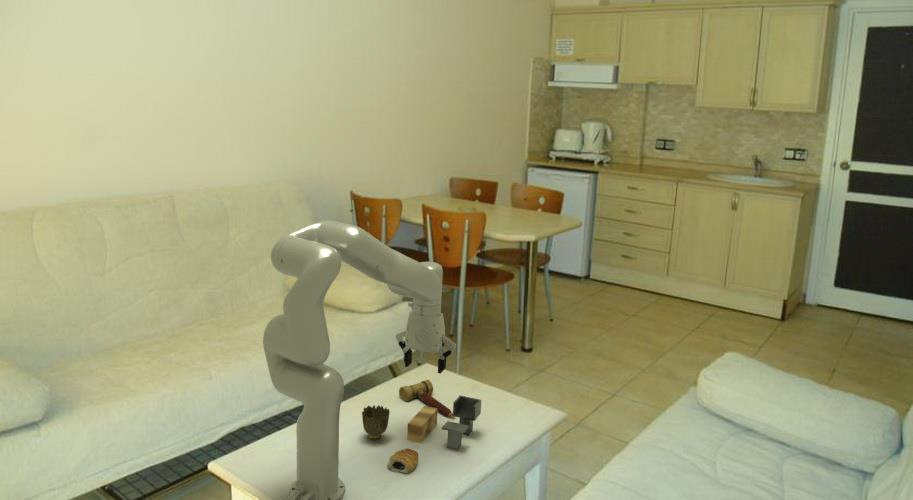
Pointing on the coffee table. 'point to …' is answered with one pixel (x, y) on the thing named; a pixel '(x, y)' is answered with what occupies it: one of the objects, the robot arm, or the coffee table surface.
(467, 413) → the cup bracket
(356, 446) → the coffee table surface
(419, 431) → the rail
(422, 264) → the robot arm
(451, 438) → the grey tabbed slab
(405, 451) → the pastry
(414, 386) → the gavel
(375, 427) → the cup
